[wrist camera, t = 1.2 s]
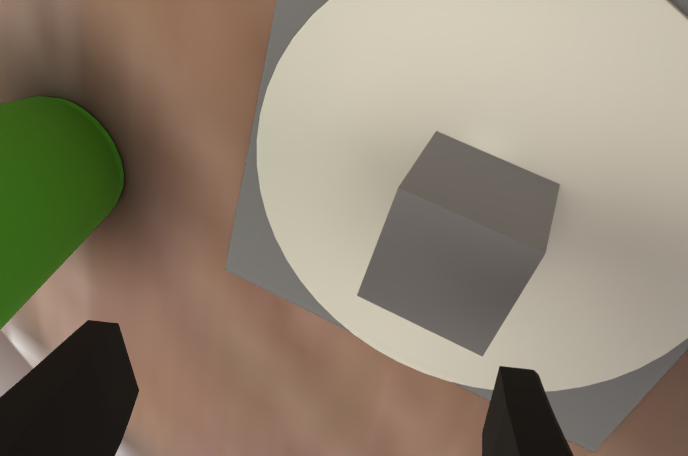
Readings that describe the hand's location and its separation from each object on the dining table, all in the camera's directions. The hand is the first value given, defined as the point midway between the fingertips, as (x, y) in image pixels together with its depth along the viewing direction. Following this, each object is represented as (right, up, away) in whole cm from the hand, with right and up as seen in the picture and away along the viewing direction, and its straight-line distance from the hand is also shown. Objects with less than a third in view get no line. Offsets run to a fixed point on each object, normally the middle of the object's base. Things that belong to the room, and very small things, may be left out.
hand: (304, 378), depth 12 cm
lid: (+5, +4, +7) cm, 9 cm away
